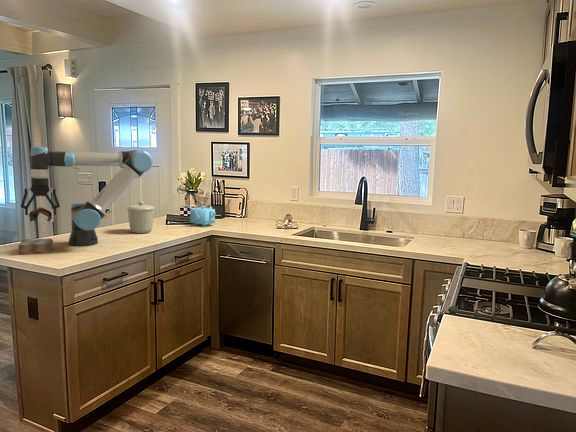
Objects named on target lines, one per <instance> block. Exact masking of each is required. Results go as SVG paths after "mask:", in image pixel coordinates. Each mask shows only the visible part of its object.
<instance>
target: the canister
mask: <svg viewBox="0 0 576 432" xmlns="http://www.w3.org/2000/svg"><path fill="white" fill-rule="evenodd" d="M144 203H145V201H143V200H139V201H138V203H137V204H131V205H128V206H127V207H126V209H127V214H128V224H129V229H130V231H131V232H132V233H134V234H147V233H150V232H152V229H153V225H154V218H155V217H154V216H155V215H154V214H155V209H156V207H155V206H153V205H150V204H144Z"/></svg>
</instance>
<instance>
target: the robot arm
mask: <svg viewBox="0 0 576 432" xmlns="http://www.w3.org/2000/svg"><path fill="white" fill-rule="evenodd" d="M153 161H154V159H153V157H152V155H151V153H149V152H148V151H146V150H143V149H134V150H128V151H127V150H126V151H122V150H121V151H118V152H95V151H94V152H92V151H91V152H89V151H88V152H87V151H60V150H59V151H57V150H55V151H51V150H49V148H48V147H46V146H31V147H30V176H31V179H30V181H31V185H30V186H31V187H29V188H27V187H25V188H24V189H23V192H24V193H23V194H24V195H23V197H22V202H21V203H20V208H22V209H24V214H25V216H27V223H31V222H30V216H29V214H30V212H31V209H30V206H31V204H32V202H33V200H34V199H35V197H40V196H41V197H45V199H46V200H47V201H48V203H49V204H50V205H51V213H52V219H51V222H52V223H53V222H54V218H55V217H54V216H56V214H57V209H59V208H61V207H60V206H61V205H60V203H59V200H58V197H57V194H56V193H57V192H56V188H55V187H54V188H51V187H50V185H49V167H61V168H63V167H64V168H65V167H66V168H69V167H74V166H81V167H82V166H83V167H89V166H90V167H119V168H120V170H119V171H118V172H117V173H116V174H115V175H114V176H113V178H112V179H110V181H109V182H108V183H107V184H106V185H105V186H104V187H103V188H101V191H99V192H98V194H96V196H95V197H94V198H93V199H92V200H87V201H86V202H85V203H84V202H83V203H72V204H71V206H70V211H71V212H70V213H71V216H70V217H71V232H70V234H69V237H68V245H70V246H73V247H74V246H75V247H76V246H77V247H84V246H94V245H97V244H99V238H98V235H97V234H96V230H95V229H97V228H98V227H99V225H100V224H101V221H102V219H104V217H105V216H106V215H107V214H106V211H107V209H109V207H110V206H111V205H112V204H113V203H114V202H115V201H116V200H117V199H118V197H120V195H121V194H122V193H123V192H124V191H125V190H126V189H127V188H128V187H129V186H130V184H131V183H132V182H133V181H134V180H135V179H140V178H141V177H142V176H143V174H144V173H145V172H146V173H147V172H148V171H150V170H151V168H152V167H153ZM49 191H50V193H51V194H52V196H53V198H54V201H55V204H56V205H55V204H54V201H53V200H52V198H51V197H50V195H49V194H48V193H49ZM30 192H31V193H32V196H30V199H29V201H28V202H27V203H26V201H27V197H28V193H30ZM25 203H26V205H25Z"/></svg>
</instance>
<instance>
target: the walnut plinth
mask: <svg viewBox="0 0 576 432" xmlns="http://www.w3.org/2000/svg"><path fill="white" fill-rule="evenodd" d="M53 241H54V240H53V238H30V239H22V240H21V241H20V243H19V244H18V255H19V256H24V255H42V254H52V251H53V248H54V244H53V243H54V242H53Z"/></svg>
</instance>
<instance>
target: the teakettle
mask: <svg viewBox="0 0 576 432" xmlns="http://www.w3.org/2000/svg"><path fill="white" fill-rule="evenodd" d="M188 208H189V209H190V214H189V215H190V216H189V217H190V218H189V223H190V224H193V226H194V225H198V226H199V225H201V224H202V225H201V227H202V226H208V225H210V226H212V224H215V220H216V218H215V217H216V214H217V213H216V209H215V208H213V206H210V207H209V208H208V207H206V206H205V205H201V206H200V207H194V208H193V207H192V206H188Z"/></svg>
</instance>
